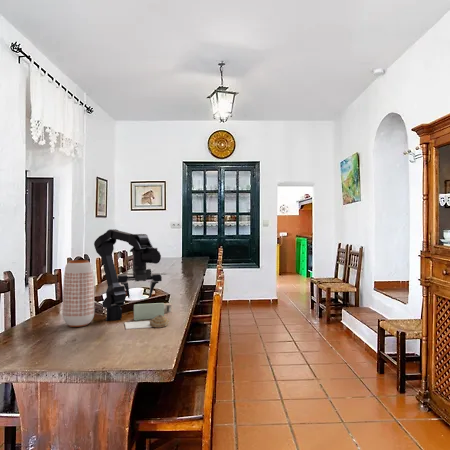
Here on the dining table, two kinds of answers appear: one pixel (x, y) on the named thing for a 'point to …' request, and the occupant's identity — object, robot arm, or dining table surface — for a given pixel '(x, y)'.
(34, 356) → the dining table surface
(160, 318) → the seashell
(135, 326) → the tile
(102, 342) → the dining table surface
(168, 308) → the small beige block
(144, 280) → the robot arm
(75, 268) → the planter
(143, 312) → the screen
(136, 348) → the dining table surface
